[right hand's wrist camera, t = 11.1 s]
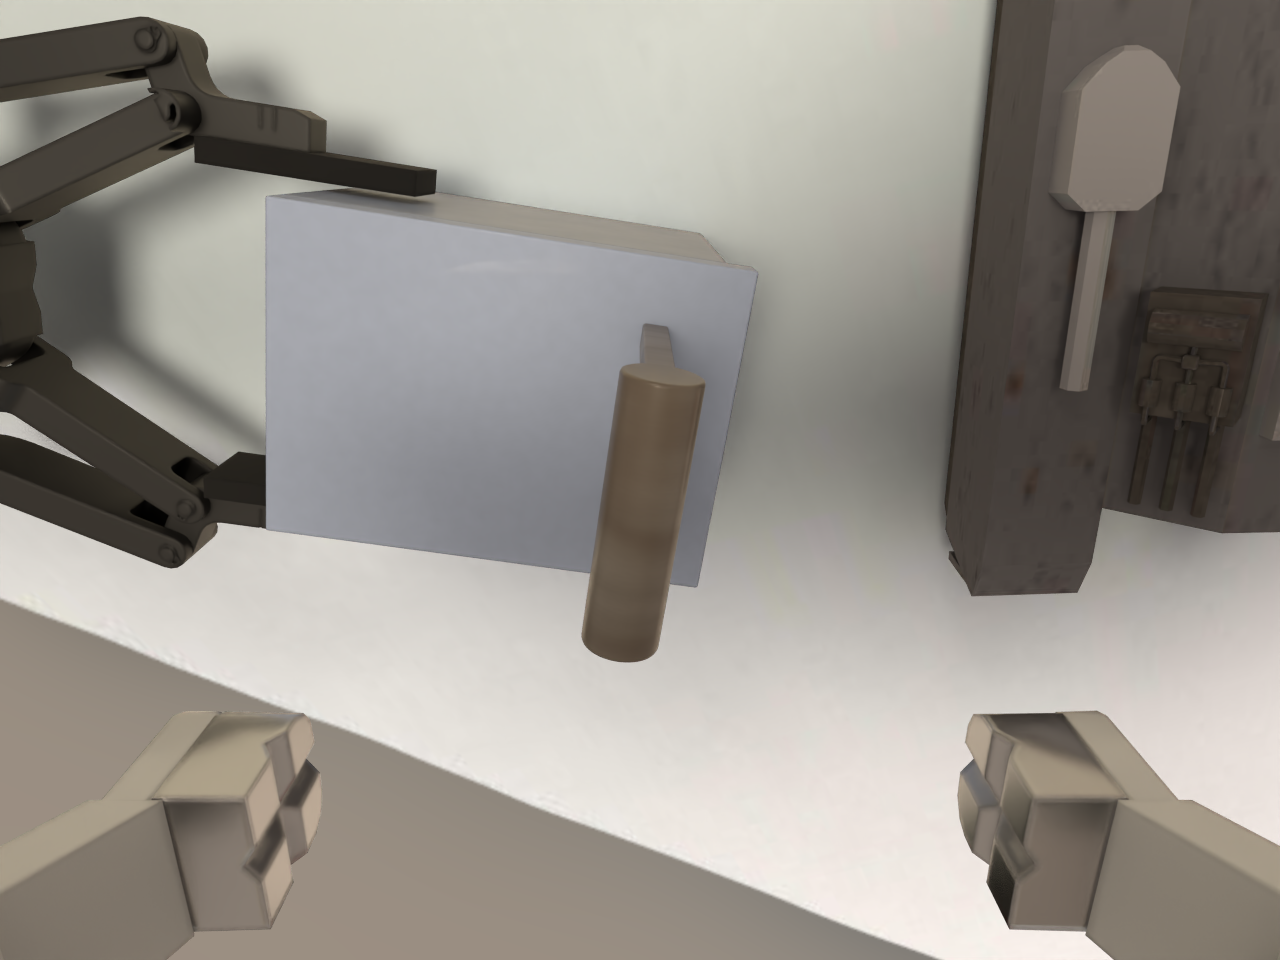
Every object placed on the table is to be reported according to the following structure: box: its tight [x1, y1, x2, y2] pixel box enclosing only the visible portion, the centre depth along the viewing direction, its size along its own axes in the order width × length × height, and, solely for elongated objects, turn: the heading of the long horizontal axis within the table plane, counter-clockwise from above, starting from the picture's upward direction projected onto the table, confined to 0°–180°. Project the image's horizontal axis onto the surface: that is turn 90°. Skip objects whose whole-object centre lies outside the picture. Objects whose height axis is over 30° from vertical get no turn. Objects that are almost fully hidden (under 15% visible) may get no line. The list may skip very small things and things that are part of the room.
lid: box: [266, 194, 758, 662], centre depth 21 cm, size 13×9×8 cm
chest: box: [284, 188, 726, 263], centre depth 30 cm, size 12×9×10 cm
